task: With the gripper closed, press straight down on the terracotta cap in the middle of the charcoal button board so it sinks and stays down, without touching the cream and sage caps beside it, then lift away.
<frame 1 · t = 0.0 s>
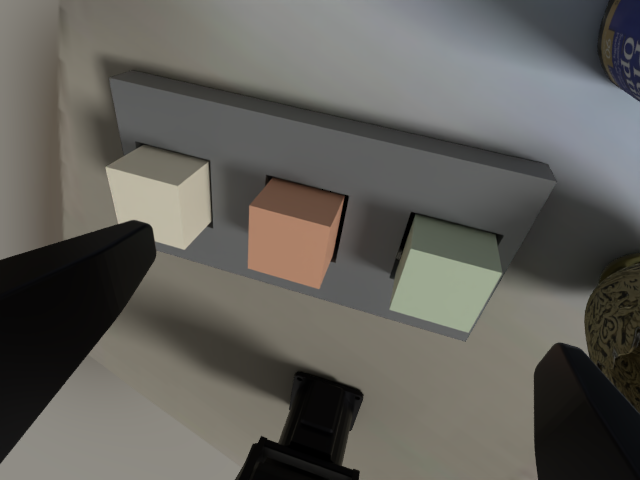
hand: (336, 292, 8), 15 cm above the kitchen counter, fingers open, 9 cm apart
sage button: (441, 272, 21), point 3 cm above the kitchen counter, slide at 0.0 cm
cup: (631, 271, 22), on the kitchen counter
terracotta button: (295, 232, 22), point 3 cm above the kitchen counter, slide at 0.0 cm
cream button: (164, 196, 23), point 3 cm above the kitchen counter, slide at 0.0 cm
button board: (311, 205, 25), on the kitchen counter
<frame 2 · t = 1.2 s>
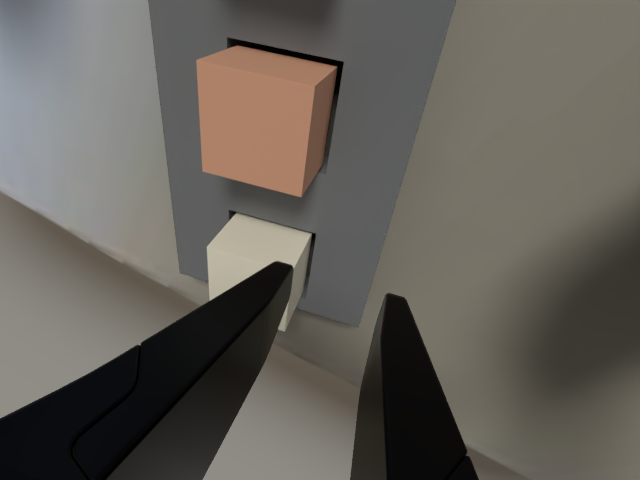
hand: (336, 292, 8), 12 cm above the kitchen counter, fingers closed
terracotta button: (268, 119, 16), point 3 cm above the kitchen counter, slide at 0.0 cm
cream button: (260, 271, 21), point 3 cm above the kitchen counter, slide at 0.0 cm
button board: (294, 98, 19), on the kitchen counter
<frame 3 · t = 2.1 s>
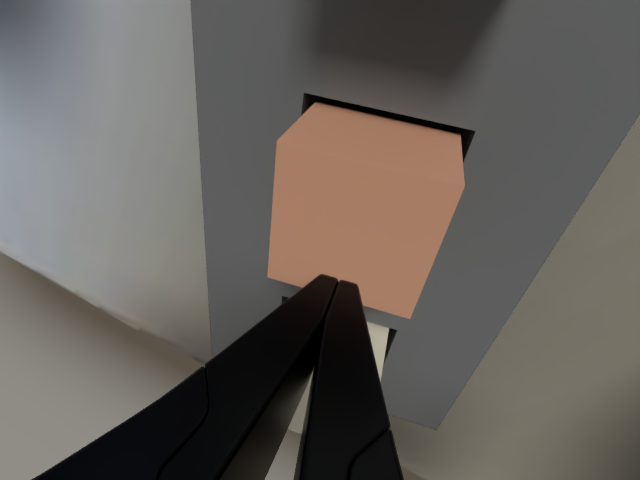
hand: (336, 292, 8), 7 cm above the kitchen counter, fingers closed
terracotta button: (361, 207, 11), point 3 cm above the kitchen counter, slide at 0.0 cm
cream button: (322, 373, 16), point 3 cm above the kitchen counter, slide at 0.0 cm
button board: (377, 163, 14), on the kitchen counter
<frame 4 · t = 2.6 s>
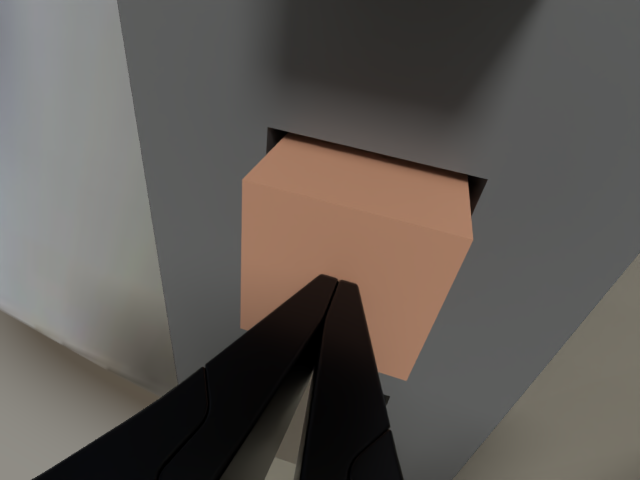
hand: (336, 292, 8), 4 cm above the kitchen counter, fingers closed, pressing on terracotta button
terracotta button: (350, 248, 10), point 2 cm above the kitchen counter, slide at 1.0 cm, touching gripper
cream button: (302, 442, 14), point 3 cm above the kitchen counter, slide at 0.0 cm
button board: (365, 203, 12), on the kitchen counter
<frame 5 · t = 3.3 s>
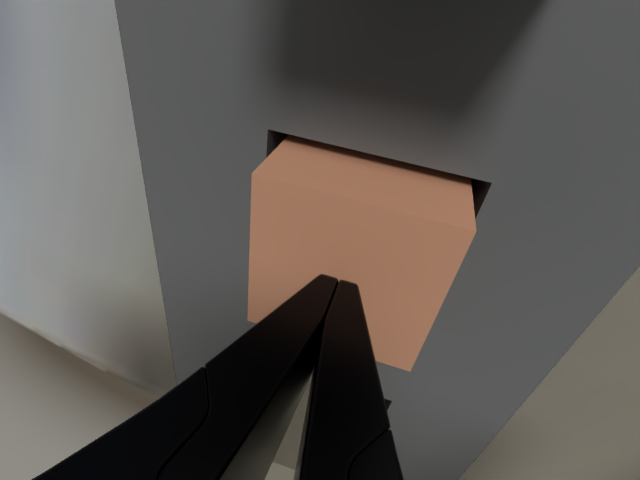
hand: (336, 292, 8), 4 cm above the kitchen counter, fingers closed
terracotta button: (354, 241, 10), point 2 cm above the kitchen counter, slide at 1.4 cm
cream button: (303, 447, 14), point 3 cm above the kitchen counter, slide at 0.0 cm
button board: (367, 206, 11), on the kitchen counter
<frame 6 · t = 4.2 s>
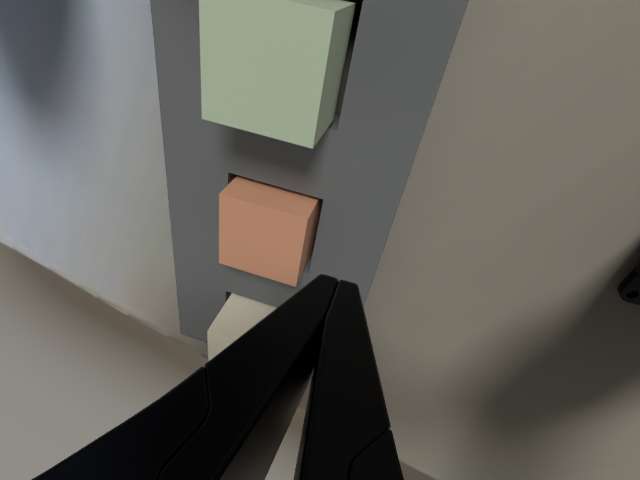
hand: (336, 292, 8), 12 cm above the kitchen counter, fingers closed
sage button: (277, 61, 14), point 3 cm above the kitchen counter, slide at 0.0 cm
terracotta button: (271, 225, 21), point 2 cm above the kitchen counter, slide at 1.4 cm
cream button: (252, 343, 25), point 3 cm above the kitchen counter, slide at 0.0 cm
button board: (283, 207, 22), on the kitchen counter
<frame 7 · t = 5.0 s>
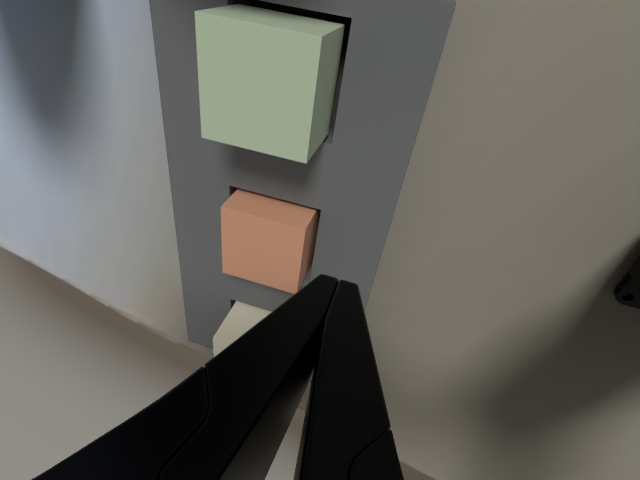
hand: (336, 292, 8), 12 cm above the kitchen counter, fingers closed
sage button: (271, 82, 15), point 3 cm above the kitchen counter, slide at 0.0 cm
terracotta button: (272, 234, 21), point 2 cm above the kitchen counter, slide at 1.4 cm
cream button: (257, 349, 25), point 3 cm above the kitchen counter, slide at 0.0 cm
button board: (283, 217, 23), on the kitchen counter
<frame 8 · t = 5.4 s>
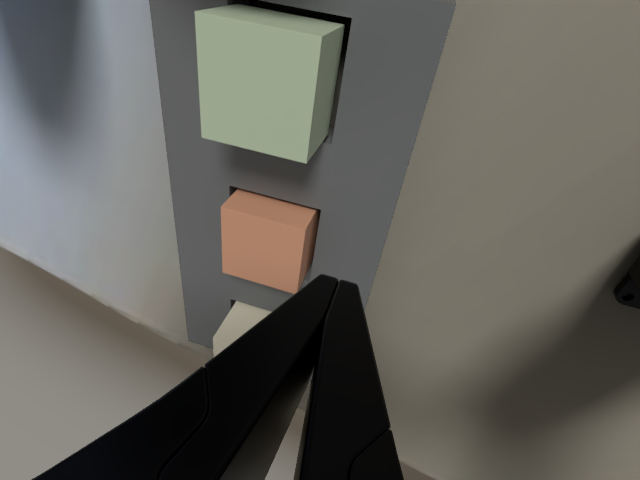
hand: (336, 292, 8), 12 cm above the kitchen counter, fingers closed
sage button: (271, 82, 15), point 3 cm above the kitchen counter, slide at 0.0 cm
terracotta button: (272, 234, 21), point 2 cm above the kitchen counter, slide at 1.4 cm
cream button: (257, 349, 25), point 3 cm above the kitchen counter, slide at 0.0 cm
button board: (283, 217, 23), on the kitchen counter
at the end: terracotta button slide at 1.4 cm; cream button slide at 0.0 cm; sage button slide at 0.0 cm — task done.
